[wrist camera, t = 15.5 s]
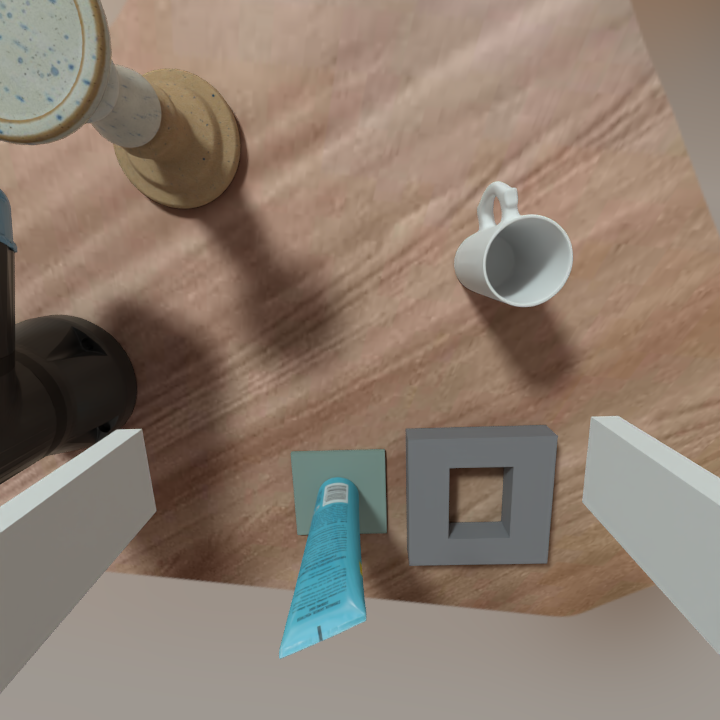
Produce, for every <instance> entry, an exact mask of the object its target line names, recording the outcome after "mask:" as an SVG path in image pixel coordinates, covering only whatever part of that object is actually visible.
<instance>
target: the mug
mask: <svg viewBox="0 0 720 720" xmlns="http://www.w3.org/2000/svg"><path fill="white" fill-rule="evenodd" d="M496 196H497V198H498V199H499V202H500V205H501V210H502V219H501V222H500V223H499V224H498V225H496V224H495V220H494V214H493V205H494V199H495V197H496ZM517 203H518V195H517V189H516V188H511V187H510V186H508V185H507V184H505V183H503V182H499V181H497V182H493V183H491V184H490V185H489V186H488V187H487V188H486V190H485V192H484V194H483V196H482V198H481V201H480V203H479V205H478V208H477V214H478V220H479V231H478V232H477V233H475V234H473V235H471V236H469V237H468V238H466V239H465V240H464V241H463V242H462V244H461V245H460V246H459V248H458V250H457V252H456V255H455V260H454V268H455V273H456V275H457V278H458V279H459V281H460V282H461V283H462V284H463V285H464V286H465V287H466V288H468V289H469V290H471V291H474V292H476V293H478V294H481V295H484V296H487V297H490V298H492V299H495V300H498V301H501V302H503V303H507V304H509V305H512V306H517V307H532V306H536V305H539V304H542V303H544V302H546V301H547V300H549V299H550V298H552V297H553V296H554V295H556V294H557V293H558V292H559V291H560V289H561V288H562V287H563V286H564V284H565V282H566V281H567V279H568V277H569V274H570V271H571V268H572V262H573V251H572V246H571V242H570V240H569V237H568V235H567V234H566V232H565V231H564V230H563V228H562V227H561V226H560V225H559V224H557V223H556V222H555V221H553V220H551V219H549V218H547V217H544V216H540V215H523V216H521V215H520V214H519V212H518V208H517Z"/></svg>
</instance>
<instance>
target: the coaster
mask: <svg viewBox="0 0 720 720" xmlns="http://www.w3.org/2000/svg"><path fill="white" fill-rule="evenodd" d="M291 463H292V474H293V486H294V498H295V510H296V522H297V534H298V535H308V534H309V530H310V526H311V522H312V517H313V513H314V509H315V504H316V500H317V495H318V492H319V489H320V487H321V485H322V484H323V483H324V482H325V481H327V480H328V479H330V478H335V477H341V478H346V479H348V480H350V481H351V482H353V483H354V484H355V486H356V487H357V489H358V493H359V523H360V534H369V533H387V522H386V482H385V449H372V450H333V451H293V452H291Z"/></svg>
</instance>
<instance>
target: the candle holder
mask: <svg viewBox="0 0 720 720" xmlns="http://www.w3.org/2000/svg"><path fill="white" fill-rule="evenodd" d="M111 56H112V50H111V38H110V32H109V27H108V23H107V18H106V15H105V12H104V9H103V7H102V4H101V1H100V0H0V141H4V142H8V143H13V144H19V145H40V144H47V143H51V142H54V141H58V140H61V139H64V138H65V137H67V136H69V135H71V134H73V133H74V132H76V131H77V130H78V129H80V128H81V127H82V126H83V125H84V124H86V123H91V124H92V126H93V127H94V128H95V129H96V130H97V131H98V132H99V133H100V135H101V136H103V137H104V138H105V139H107V140H108V141H110V142H111V143H113V145H114V149H115V154H116V156H117V159H118V162H119V164H120V166H121V168H122V169H123V171H124V173H125V175H126V176H127V177H128V179H129V180H130V181H131V183H132V184H133V185H134V186H135V187H136V188H137V189H138V190H139V191H140V192H142V193H143V194H144V195H145V196H147V197H148V198H150V199H152V200H154V201H155V202H157V203H160V204H163V205H165V206H169V207H174V208H185V209H187V208H195V207H199V206H202V205H205V204H207V203H209V202H211V201H213V200H214V199H216V198H217V197H218V196H220V195H221V194H222V193H223V192H224V191H225V190H226V189H227V187H228V186H229V184H230V183H231V181H232V180H233V177H234V175H235V173H236V171H237V167H238V164H239V158H240V137H239V130H238V127H237V123H236V120H235V117H234V115H233V113H232V111H231V109H230V107H229V106H228V104H227V103H226V101H225V100H224V98H223V97H222V96H221V94H220V93H219V92H218V91H217V90H216V89H215V88H214V87H213V86H211V85H210V84H209V83H208V82H207V81H205V80H203V79H202V78H200V77H199V76H197V75H194V74H192V73H190V72H187V71H183V70H178V69H159V70H154V71H151V72H148V73H146V74H144V75H141V74H139V73H138V72H136V71H134V70H133V69H130V68H128V67H124V66H120V65H116V64H114V63H113V61H112V59H111Z"/></svg>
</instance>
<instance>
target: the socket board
mask: <svg viewBox="0 0 720 720" xmlns="http://www.w3.org/2000/svg"><path fill="white" fill-rule="evenodd" d="M557 438H558V436H557V435H556V434H555V433H554V432H553V431H552V430H551V429H550V428H548V427H547V426H546V425H528V426H491V427H453V428H416V429H406V496H407V551H408V558H409V566H419V565H478V564H537V563H547V559H548V547H549V535H550V523H551V511H552V499H553V487H554V475H555V462H556V450H557ZM478 467H504V477H503V497H502V517H501V522H460V523H449V468H478Z"/></svg>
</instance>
